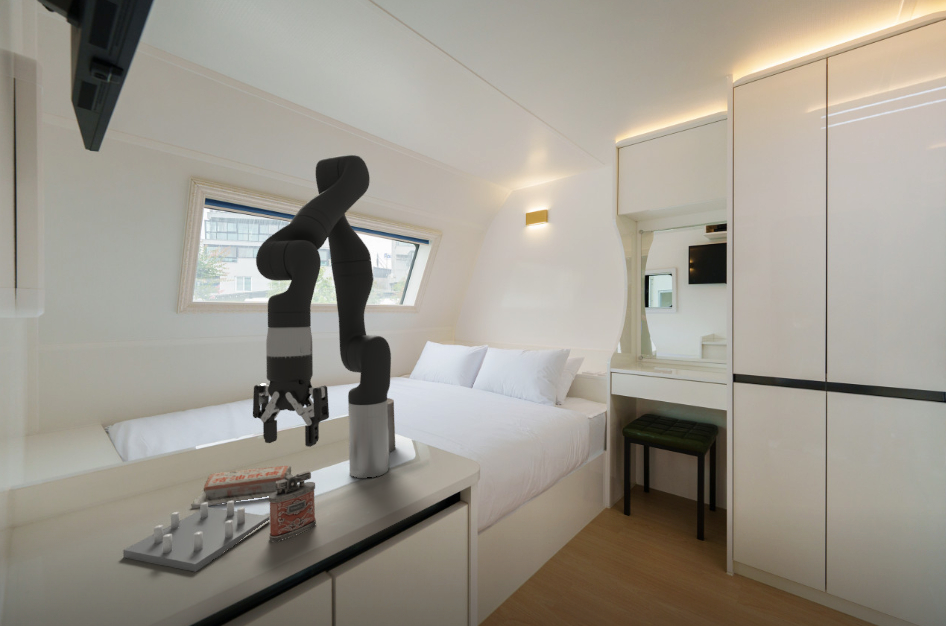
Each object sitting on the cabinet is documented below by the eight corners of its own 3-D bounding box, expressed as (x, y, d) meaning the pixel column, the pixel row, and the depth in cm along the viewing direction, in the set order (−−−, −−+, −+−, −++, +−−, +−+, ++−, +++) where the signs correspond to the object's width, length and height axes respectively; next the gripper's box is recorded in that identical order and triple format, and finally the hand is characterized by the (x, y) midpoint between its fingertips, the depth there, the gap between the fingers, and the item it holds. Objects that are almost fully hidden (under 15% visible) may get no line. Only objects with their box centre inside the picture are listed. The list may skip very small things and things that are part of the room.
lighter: (274, 544, 70) (272, 485, 70) (266, 537, 72) (265, 480, 72) (319, 525, 76) (318, 471, 76) (310, 519, 78) (309, 466, 78)
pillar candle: (374, 442, 124) (372, 392, 123) (402, 445, 120) (400, 394, 120) (352, 453, 115) (351, 399, 114) (382, 457, 111) (380, 401, 111)
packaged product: (293, 460, 98) (287, 476, 88) (294, 480, 98) (287, 498, 88) (207, 469, 93) (189, 487, 83) (207, 490, 93) (190, 511, 83)
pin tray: (206, 513, 81) (206, 494, 81) (269, 522, 77) (269, 502, 77) (123, 557, 67) (123, 534, 67) (195, 571, 63) (195, 547, 63)
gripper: (337, 351, 75) (337, 440, 75) (272, 350, 79) (273, 434, 79) (310, 355, 68) (310, 453, 68) (240, 354, 72) (241, 447, 72)
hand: (290, 443), depth 74 cm, fingers open, 8 cm apart
